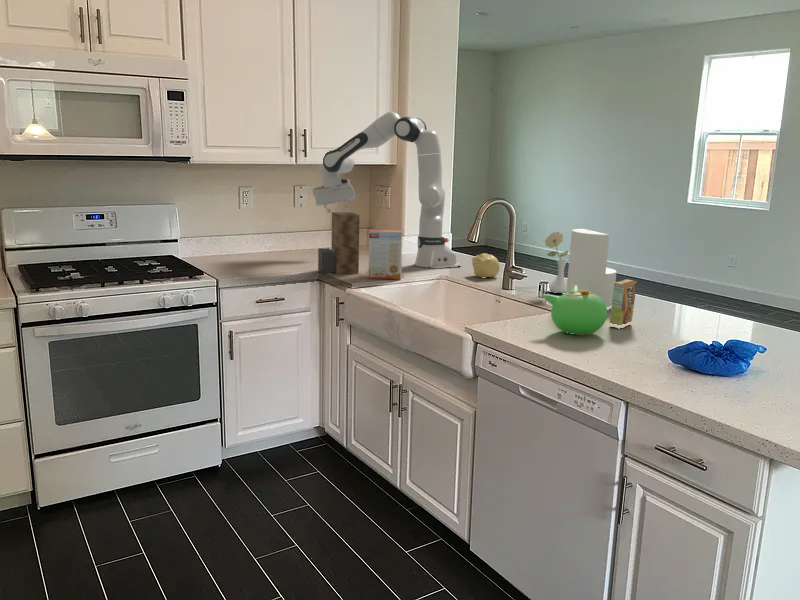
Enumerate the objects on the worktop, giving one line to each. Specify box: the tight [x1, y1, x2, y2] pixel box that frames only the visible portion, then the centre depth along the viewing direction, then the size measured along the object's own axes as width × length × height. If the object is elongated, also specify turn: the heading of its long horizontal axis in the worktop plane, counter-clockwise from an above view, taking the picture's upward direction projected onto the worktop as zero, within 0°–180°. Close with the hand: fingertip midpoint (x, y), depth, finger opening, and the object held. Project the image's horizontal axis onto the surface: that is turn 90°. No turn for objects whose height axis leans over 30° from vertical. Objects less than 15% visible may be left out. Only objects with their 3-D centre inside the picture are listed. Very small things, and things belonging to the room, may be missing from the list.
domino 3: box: [320, 251, 334, 275], centre depth 298 cm, size 5×2×10 cm, turn 107°
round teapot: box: [541, 285, 608, 335], centre depth 213 cm, size 18×17×15 cm
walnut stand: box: [330, 211, 360, 275], centre depth 303 cm, size 10×12×26 cm
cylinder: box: [566, 228, 617, 307], centre depth 251 cm, size 17×17×28 cm
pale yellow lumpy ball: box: [471, 252, 500, 278], centre depth 302 cm, size 11×12×11 cm
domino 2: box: [318, 249, 331, 273], centre depth 301 cm, size 5×2×10 cm, turn 107°
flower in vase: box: [544, 231, 569, 293], centre depth 271 cm, size 13×11×25 cm
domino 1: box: [317, 247, 331, 270], centre depth 305 cm, size 5×2×10 cm, turn 107°
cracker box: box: [368, 229, 403, 281], centre depth 290 cm, size 14×6×21 cm, turn 84°
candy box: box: [609, 278, 638, 325], centre depth 224 cm, size 9×4×15 cm, turn 137°
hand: (338, 210), depth 337 cm, fingers open, 8 cm apart
